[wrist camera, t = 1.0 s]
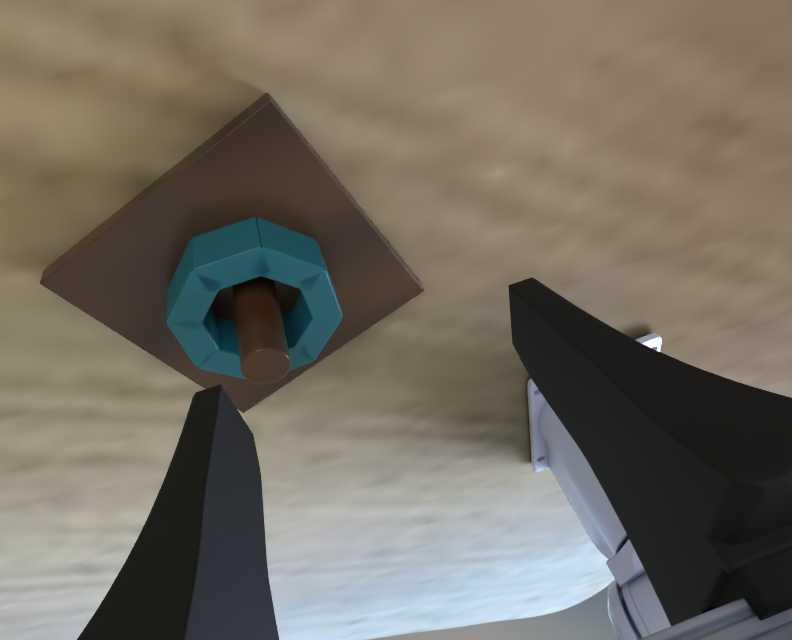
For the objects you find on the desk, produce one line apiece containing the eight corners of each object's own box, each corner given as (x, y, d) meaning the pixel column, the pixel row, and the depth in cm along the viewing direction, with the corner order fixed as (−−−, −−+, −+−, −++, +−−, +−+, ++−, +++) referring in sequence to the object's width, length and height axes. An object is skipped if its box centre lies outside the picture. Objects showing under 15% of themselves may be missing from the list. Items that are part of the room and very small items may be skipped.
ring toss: (419, 280, 24) (461, 361, 20) (242, 400, 26) (251, 496, 22) (267, 91, 18) (289, 160, 14) (42, 270, 19) (8, 375, 16)
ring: (344, 315, 23) (355, 347, 22) (213, 361, 23) (215, 396, 22) (302, 200, 19) (311, 229, 18) (143, 252, 19) (139, 286, 18)
